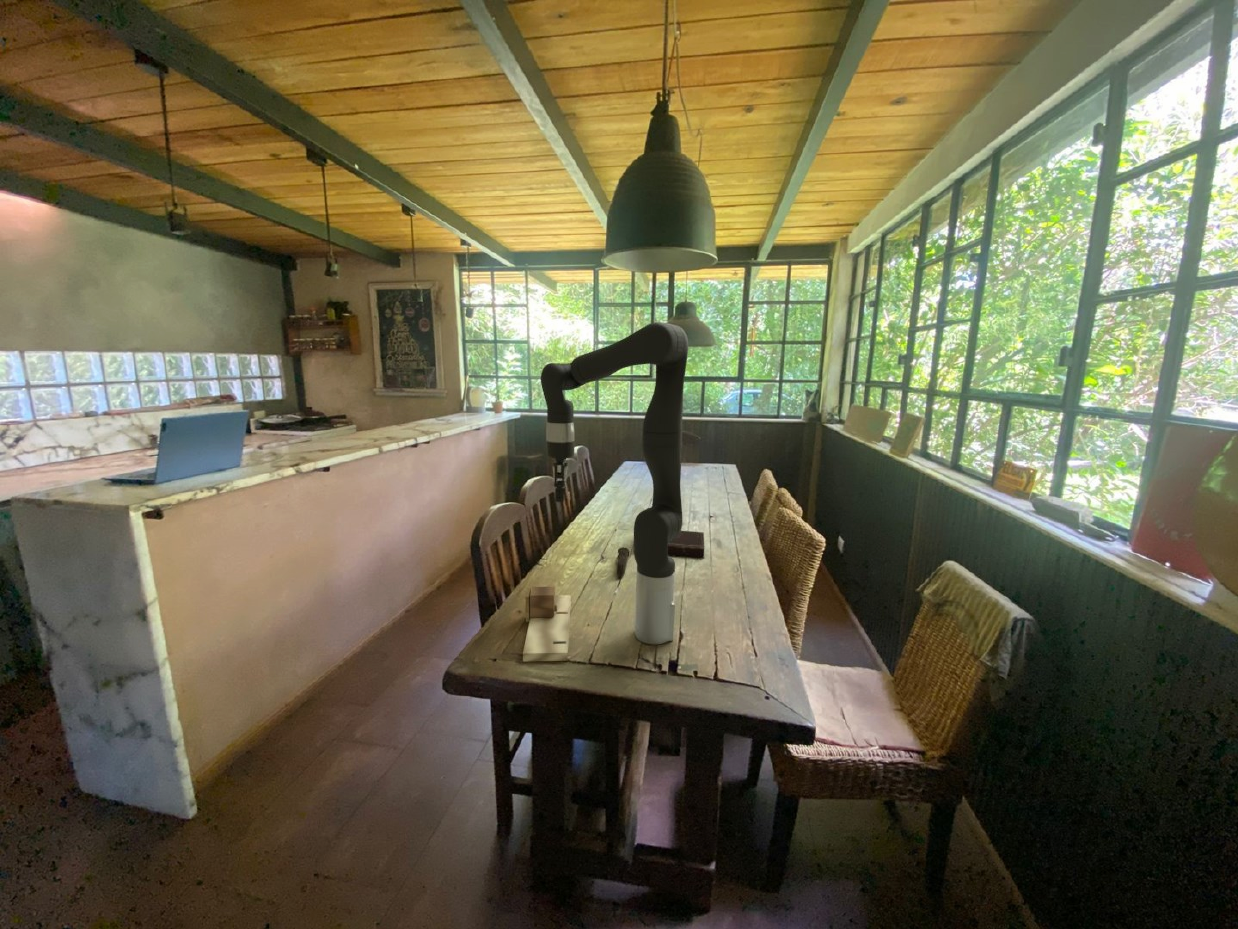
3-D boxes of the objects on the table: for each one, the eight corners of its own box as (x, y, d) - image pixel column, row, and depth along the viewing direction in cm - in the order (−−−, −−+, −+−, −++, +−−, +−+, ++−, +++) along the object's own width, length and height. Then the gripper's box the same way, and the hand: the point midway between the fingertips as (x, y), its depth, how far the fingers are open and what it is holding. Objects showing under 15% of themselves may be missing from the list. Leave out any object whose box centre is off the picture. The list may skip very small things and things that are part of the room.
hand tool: (618, 557, 170) (618, 544, 169) (629, 557, 169) (629, 545, 168) (611, 580, 151) (611, 566, 150) (623, 580, 151) (624, 567, 150)
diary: (703, 561, 169) (704, 548, 168) (633, 555, 173) (634, 542, 172) (702, 542, 187) (703, 530, 186) (639, 537, 191) (640, 525, 190)
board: (570, 601, 136) (570, 594, 135) (567, 660, 108) (567, 651, 108) (535, 602, 135) (535, 595, 134) (522, 661, 107) (522, 652, 107)
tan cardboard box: (557, 612, 128) (557, 586, 126) (556, 621, 123) (556, 595, 121) (528, 612, 127) (527, 586, 126) (525, 622, 122) (525, 595, 121)
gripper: (573, 443, 122) (573, 504, 125) (574, 435, 136) (574, 491, 139) (544, 442, 121) (544, 504, 124) (548, 435, 135) (548, 491, 138)
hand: (560, 497), depth 131 cm, fingers open, 8 cm apart
